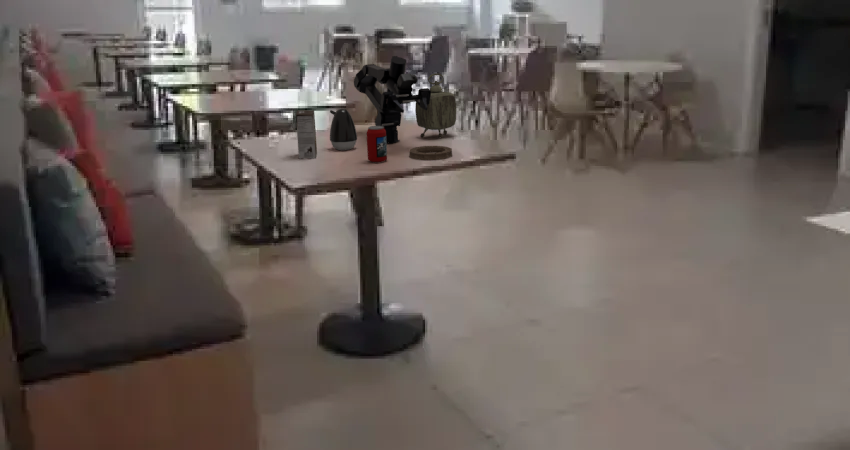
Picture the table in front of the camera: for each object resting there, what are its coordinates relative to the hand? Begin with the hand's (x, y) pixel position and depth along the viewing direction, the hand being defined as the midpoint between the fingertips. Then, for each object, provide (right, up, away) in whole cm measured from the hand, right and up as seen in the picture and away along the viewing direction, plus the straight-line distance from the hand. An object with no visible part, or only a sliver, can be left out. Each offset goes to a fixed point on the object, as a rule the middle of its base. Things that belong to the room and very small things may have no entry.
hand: (415, 110), depth 292 cm
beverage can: (-13, -19, -6) cm, 23 cm away
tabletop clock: (+8, -6, +34) cm, 36 cm away
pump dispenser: (-27, -12, +16) cm, 34 cm away
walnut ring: (+6, -16, +1) cm, 17 cm away
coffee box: (-39, -16, +6) cm, 42 cm away
